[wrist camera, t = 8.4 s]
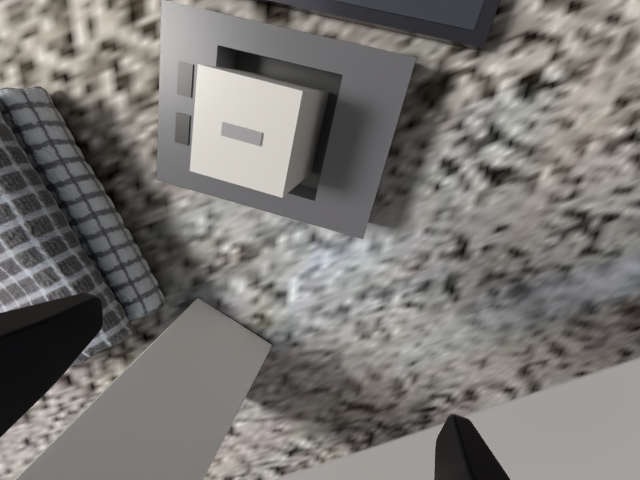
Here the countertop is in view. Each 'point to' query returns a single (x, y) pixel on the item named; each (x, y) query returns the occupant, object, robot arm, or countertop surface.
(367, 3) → the phone
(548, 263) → the countertop surface
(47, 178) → the towel
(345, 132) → the grey tray
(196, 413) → the milk
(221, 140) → the block
